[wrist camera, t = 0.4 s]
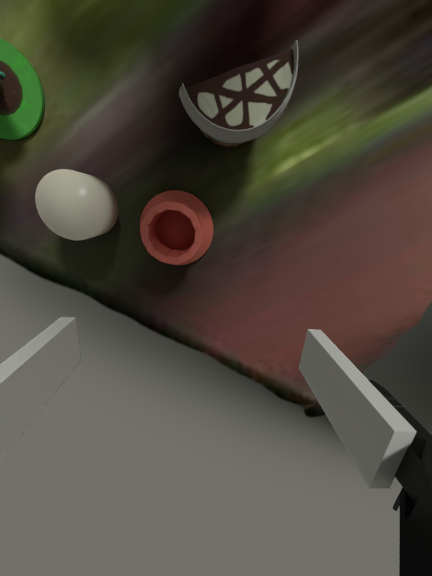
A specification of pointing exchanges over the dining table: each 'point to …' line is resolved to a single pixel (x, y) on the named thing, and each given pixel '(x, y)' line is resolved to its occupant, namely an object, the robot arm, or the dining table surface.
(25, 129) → the translucent plastic tub
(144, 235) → the red flanged cylinder
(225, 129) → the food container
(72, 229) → the grey rounded piece
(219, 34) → the dining table surface
